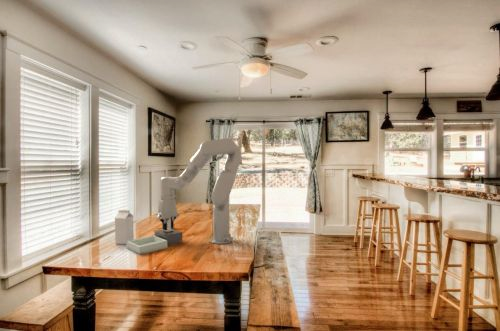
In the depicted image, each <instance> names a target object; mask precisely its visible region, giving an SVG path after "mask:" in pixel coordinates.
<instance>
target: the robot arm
mask: <svg viewBox="0 0 500 331" xmlns="http://www.w3.org/2000/svg"><path fill="white" fill-rule="evenodd" d="M218 155H226V159H225V161H224V165H223V167H222V169H221V172H219V174H218V175H217V178H216V181H215V184H214V187H213V189H212V192H211V196H210V200H211V202H212V226H213V227H212V232H213V233H212V235H213V236H212V237H211V238H210V243H212V244H214V245H215V244H216V245H217V244H218V245H224V244H230V243H231V242H233V239H234V237H233V236H232V235H231V233H230V195H231V192H232V190H233V187H234V183H235V181H236V176H237V173H238V171H239V166H240V164H241V159H242V153H241V149H240V148H239V145H238V144H237V143H236V142H235V141H234V140H233V139H231V138H229V137H228V138H219V139H211V140H205V141H203V142H201V143H200V146H199V149H198V150H197V151H196V153H194V155H192V157H191V158H190V160H189V162H188V165H187V167H186V168H185V169H184V171H183V172H182V173H181V174H180V175H179V176H174V177H173V176H162V177H161V178H160V200H159V201H158V202H159V203H158V206H157V207H158V209H157V210H158V211H157V217H156V220H158V221H160V222H161V225H162V226H161V227H162V230H167V223H166V218H168V217H171V229H174V222H175V220H176V219H177V218H178V217H179V215H180V214H178V211H177V210H178V209H177V207H178V206H177V203H176V202H177V201H176V199H175V198H177V195H176V194H175V190H183V189H184V188H187V187H188V186H189V185H190V184H191V183H192V182H193V181H194V179H195V178H196V176H198V174H199V173H200V172H201V171H202V170H203V168H204V167H205V166H206V164H207V163H208V162H209V161H210V160H211V158H213V156H218Z"/></svg>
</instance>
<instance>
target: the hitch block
mask: <svg viewBox="0 0 500 331" xmlns="http://www.w3.org/2000/svg"><path fill="white" fill-rule="evenodd" d="M153 232H154V235H153V236H156V237H159V238H162V239H164V240H167V247H169V246H174V245H178V244H181V243H183V232H182V231H180V230H178V229H177V230H176V229H174V228H173V229H171V232H170V233H165V230H163V229H160V230H154V231H153Z"/></svg>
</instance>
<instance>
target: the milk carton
mask: <svg viewBox="0 0 500 331" xmlns="http://www.w3.org/2000/svg"><path fill="white" fill-rule="evenodd" d="M130 211H131V210H128V209H119V210H118V213H117V214H116V215H115V217H114V234H115V235H114V238H115V239H114V241H115V242H114V243H115V244H116V245H127V241H130V240H135V238H134V237H135V236H134V235H135V234H134V215H133V214H132V213H131V212H130Z"/></svg>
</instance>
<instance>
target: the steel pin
mask: <svg viewBox="0 0 500 331" xmlns="http://www.w3.org/2000/svg"><path fill="white" fill-rule="evenodd" d="M166 223H167V230H165V233H170V232H171V217H168V218H166Z"/></svg>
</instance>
